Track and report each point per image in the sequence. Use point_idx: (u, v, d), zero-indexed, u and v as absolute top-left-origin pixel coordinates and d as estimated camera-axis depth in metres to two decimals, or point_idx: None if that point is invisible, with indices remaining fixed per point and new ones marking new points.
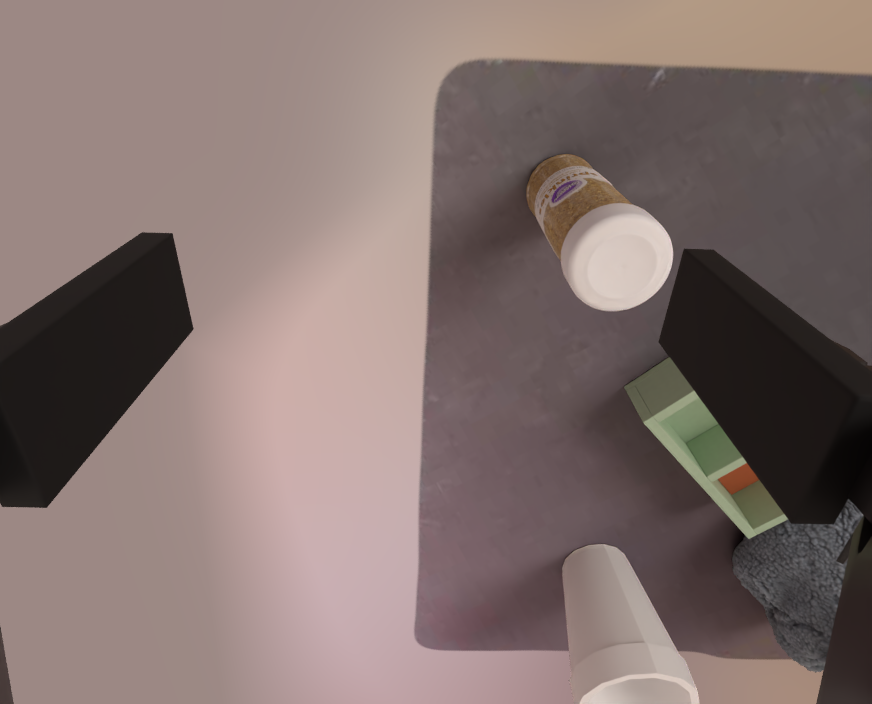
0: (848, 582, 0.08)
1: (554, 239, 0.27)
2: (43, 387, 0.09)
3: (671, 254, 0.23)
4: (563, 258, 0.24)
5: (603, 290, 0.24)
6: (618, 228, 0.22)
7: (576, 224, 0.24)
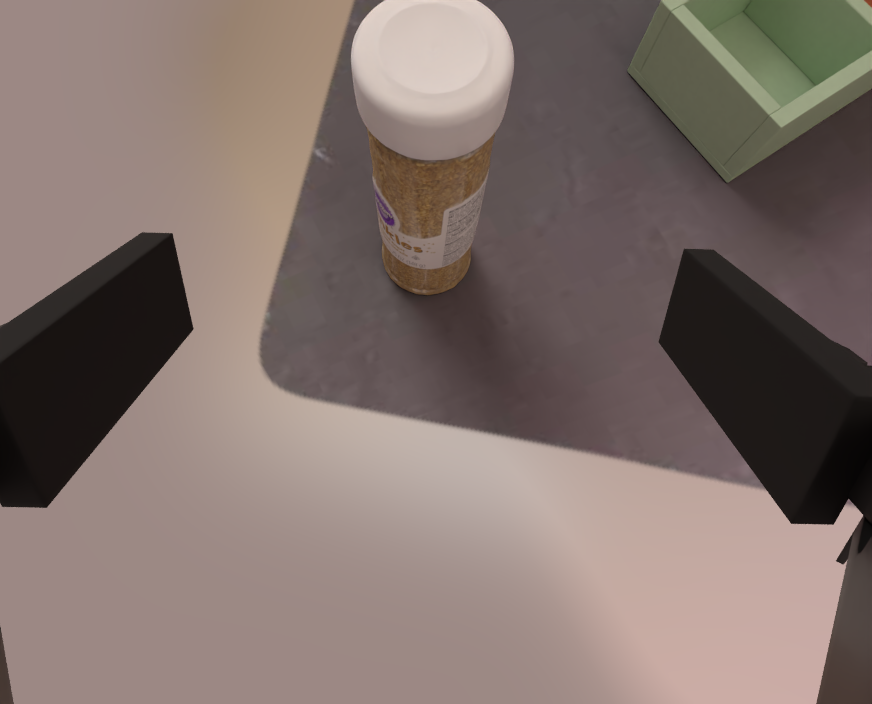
0: (848, 582, 0.08)
1: (426, 198, 0.18)
2: (43, 387, 0.09)
3: None
4: (421, 147, 0.15)
5: (470, 72, 0.14)
6: (368, 52, 0.15)
7: (375, 134, 0.16)
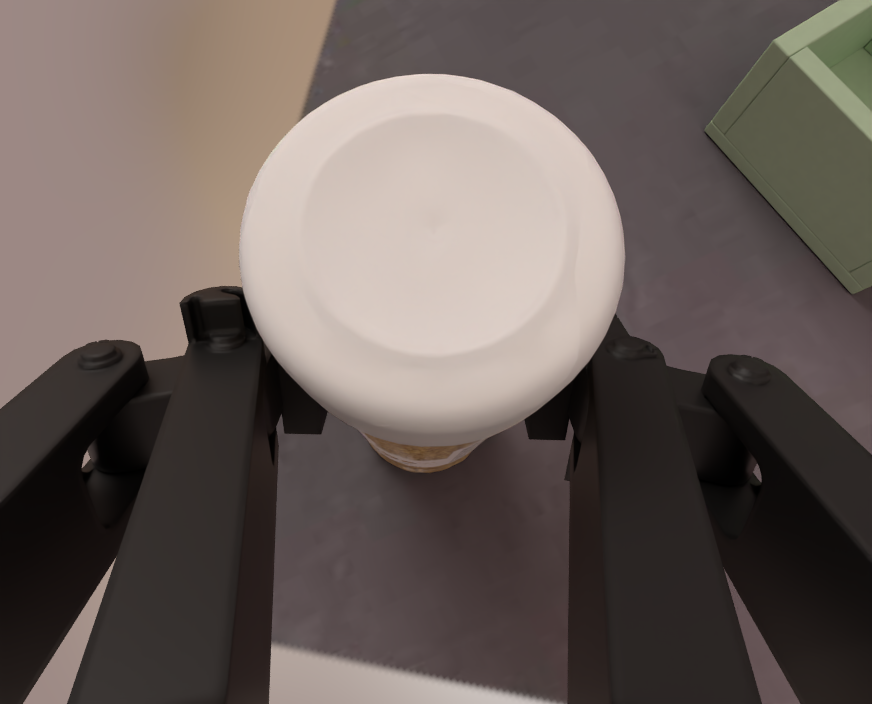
0: (572, 499, 0.09)
1: (421, 447, 0.10)
2: None
3: (417, 75, 0.07)
4: (407, 441, 0.07)
5: (526, 294, 0.06)
6: (276, 240, 0.06)
7: None
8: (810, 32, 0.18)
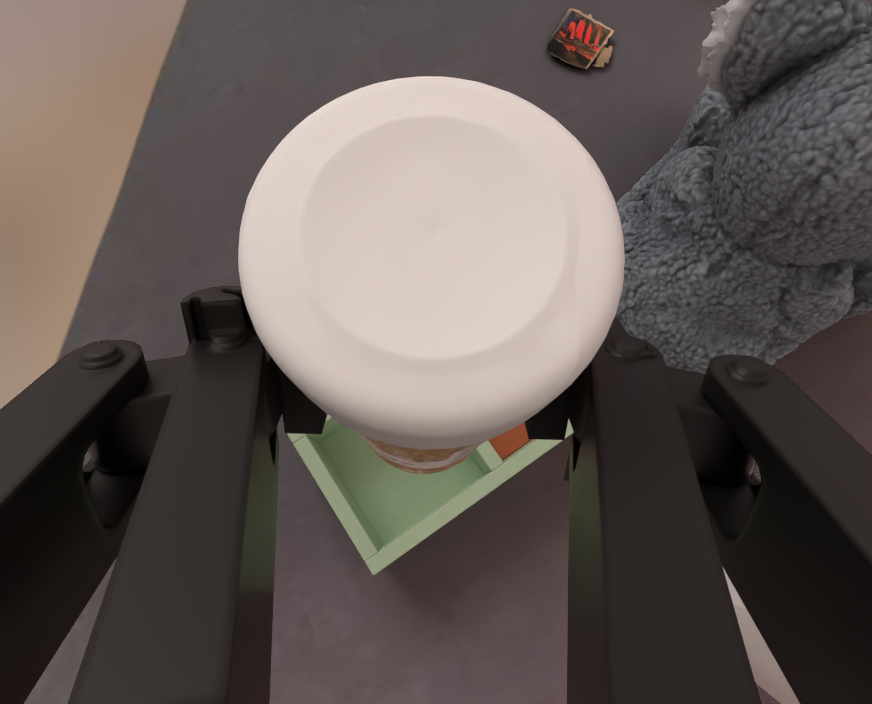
0: (571, 499, 0.09)
1: (421, 449, 0.10)
2: None
3: (417, 78, 0.07)
4: (407, 444, 0.07)
5: (526, 297, 0.06)
6: (276, 244, 0.06)
7: None
8: None
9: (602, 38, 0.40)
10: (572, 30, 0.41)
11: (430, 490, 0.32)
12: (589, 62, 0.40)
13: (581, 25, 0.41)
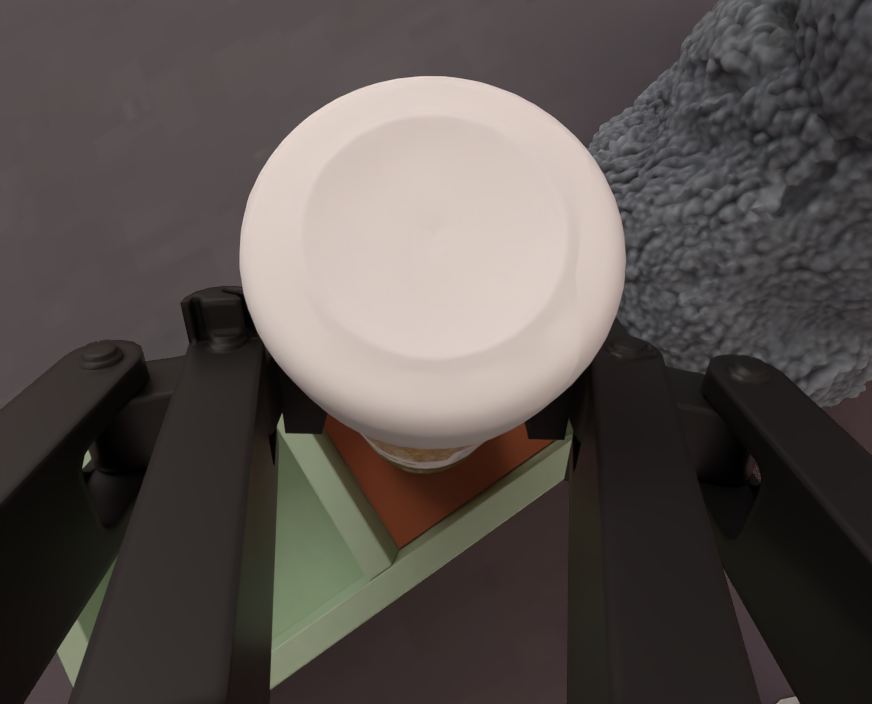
0: (571, 499, 0.09)
1: (422, 449, 0.10)
2: None
3: (417, 77, 0.07)
4: (408, 443, 0.07)
5: (527, 296, 0.06)
6: (277, 243, 0.06)
7: None
8: None
9: None
10: None
11: (287, 592, 0.19)
12: None
13: None
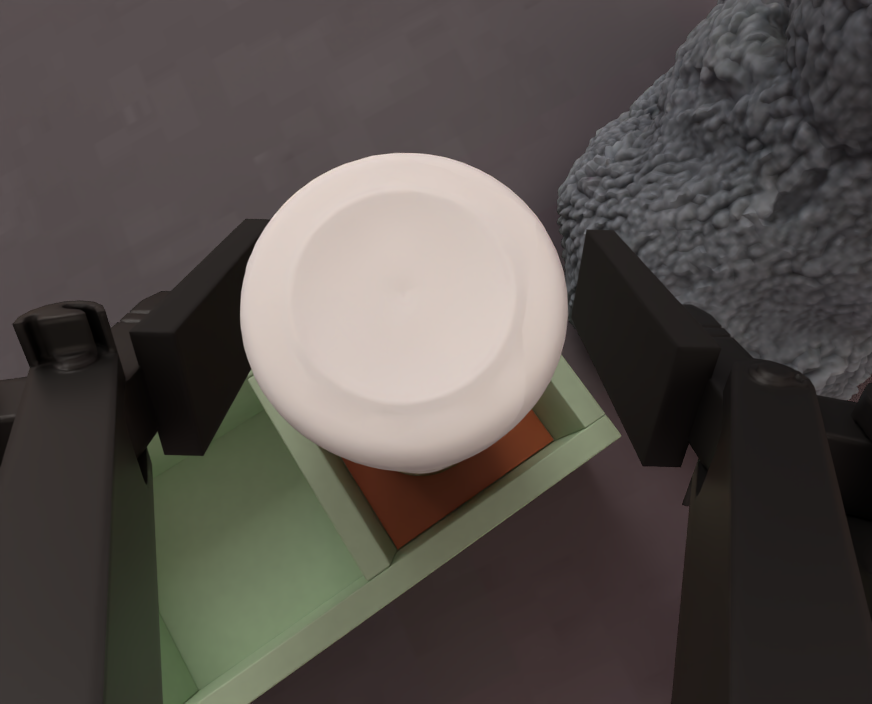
0: (691, 524, 0.09)
1: None
2: (203, 349, 0.10)
3: (390, 155, 0.08)
4: (385, 469, 0.08)
5: (480, 349, 0.07)
6: (270, 305, 0.07)
7: None
8: None
9: None
10: None
11: (287, 592, 0.19)
12: None
13: None
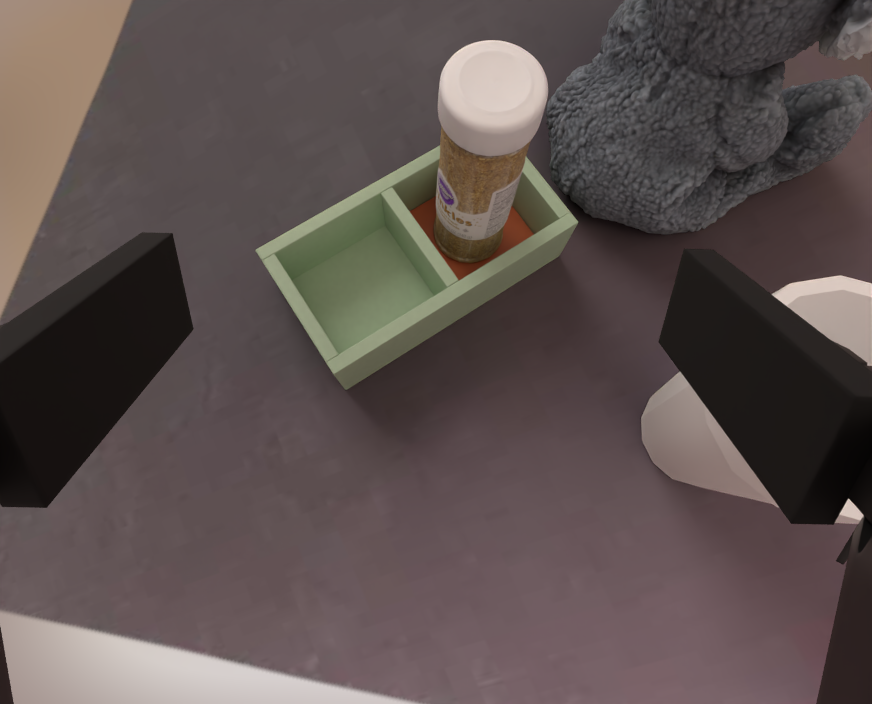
0: (848, 582, 0.08)
1: (481, 183, 0.26)
2: (43, 387, 0.09)
3: (488, 40, 0.23)
4: (485, 146, 0.23)
5: (519, 98, 0.22)
6: (452, 84, 0.22)
7: (452, 138, 0.23)
8: (278, 244, 0.31)
9: None
10: None
11: None
12: None
13: None
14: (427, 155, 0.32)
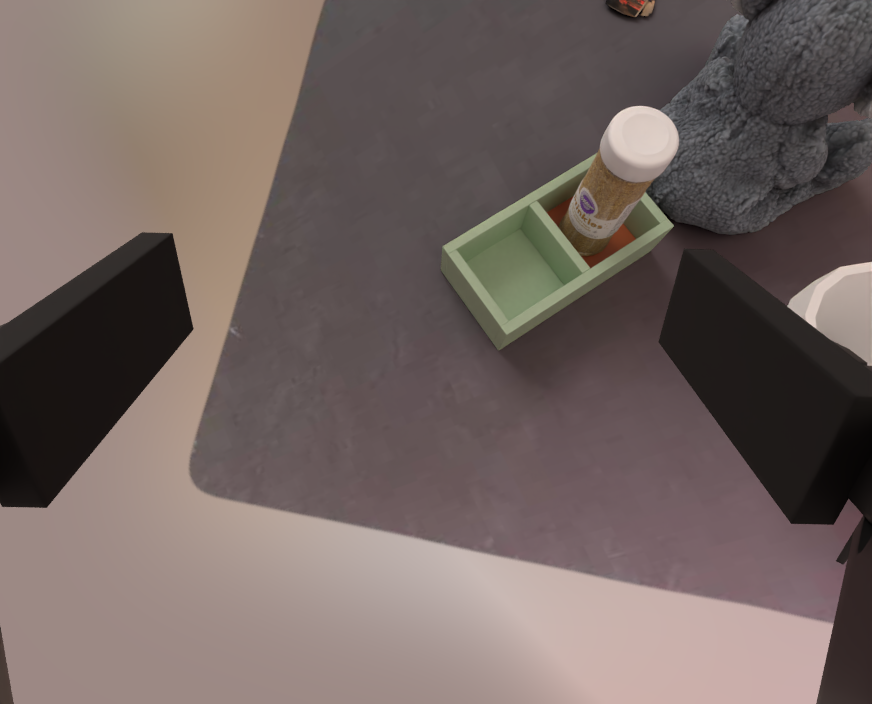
0: (848, 582, 0.08)
1: (622, 199, 0.37)
2: (42, 387, 0.09)
3: (638, 106, 0.34)
4: (636, 176, 0.34)
5: (662, 145, 0.34)
6: (617, 136, 0.34)
7: (612, 170, 0.35)
8: (458, 242, 0.42)
9: None
10: None
11: (532, 302, 0.45)
12: (637, 12, 0.53)
13: None
14: (561, 177, 0.44)
